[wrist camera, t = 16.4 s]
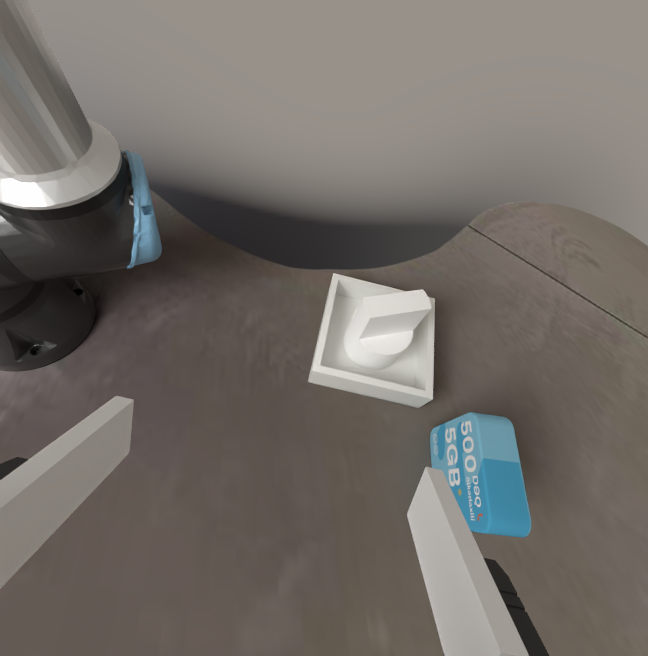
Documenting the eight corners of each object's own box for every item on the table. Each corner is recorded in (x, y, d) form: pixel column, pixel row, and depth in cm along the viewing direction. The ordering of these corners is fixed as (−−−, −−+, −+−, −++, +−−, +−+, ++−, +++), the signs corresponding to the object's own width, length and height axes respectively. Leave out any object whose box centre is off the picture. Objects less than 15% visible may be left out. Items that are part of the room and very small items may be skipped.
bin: (307, 381, 47) (311, 370, 43) (328, 290, 55) (333, 273, 51) (418, 408, 48) (432, 399, 43) (422, 313, 56) (435, 298, 52)
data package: (428, 429, 46) (475, 408, 36) (458, 433, 47) (512, 414, 36) (434, 525, 41) (491, 534, 30) (468, 529, 41) (536, 539, 31)
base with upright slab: (387, 315, 54) (416, 270, 43) (406, 364, 50) (443, 328, 39) (337, 323, 51) (354, 278, 41) (352, 375, 48) (376, 340, 37)
